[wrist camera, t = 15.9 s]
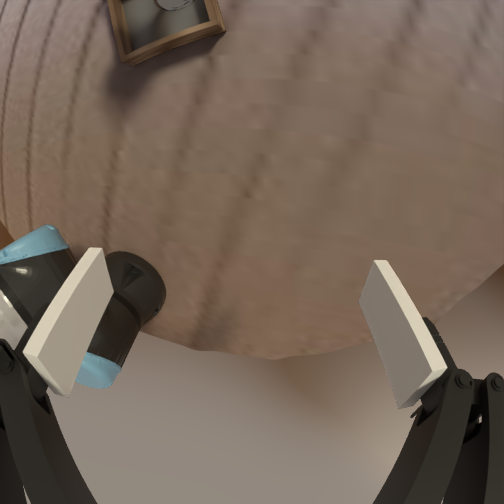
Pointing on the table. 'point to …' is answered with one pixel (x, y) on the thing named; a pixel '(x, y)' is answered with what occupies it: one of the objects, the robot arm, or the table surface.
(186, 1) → the silver goblet
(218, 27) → the wooden tray
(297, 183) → the table surface
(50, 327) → the robot arm
